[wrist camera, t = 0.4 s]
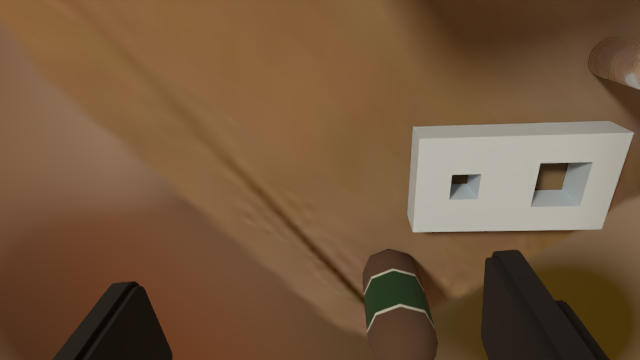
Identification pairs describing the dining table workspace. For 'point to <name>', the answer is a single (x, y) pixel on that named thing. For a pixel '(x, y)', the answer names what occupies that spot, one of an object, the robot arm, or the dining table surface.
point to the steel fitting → (617, 61)
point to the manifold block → (514, 176)
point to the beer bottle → (397, 309)
